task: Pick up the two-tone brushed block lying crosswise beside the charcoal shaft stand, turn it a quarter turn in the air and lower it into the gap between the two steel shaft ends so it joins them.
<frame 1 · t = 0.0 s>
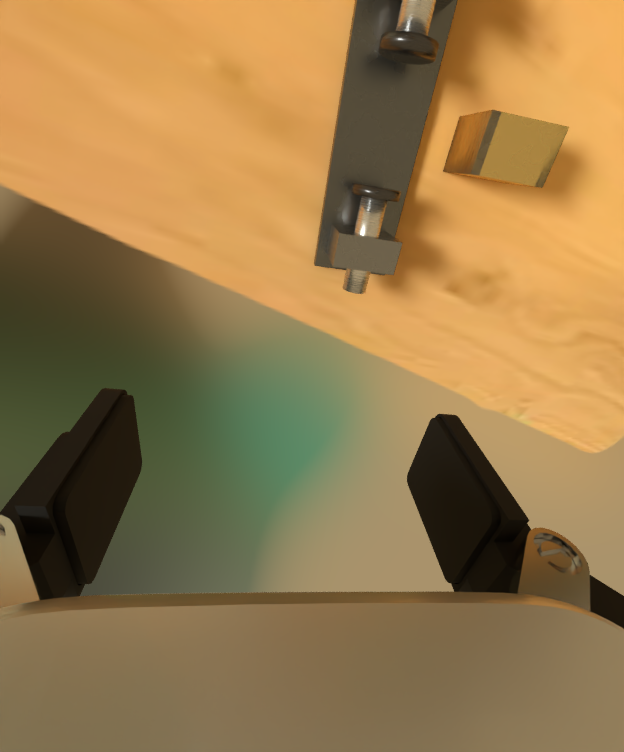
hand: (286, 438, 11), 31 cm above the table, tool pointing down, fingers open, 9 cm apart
shaft stand: (377, 129, 33), on the table
two-tone brushed block: (483, 151, 35), on the table
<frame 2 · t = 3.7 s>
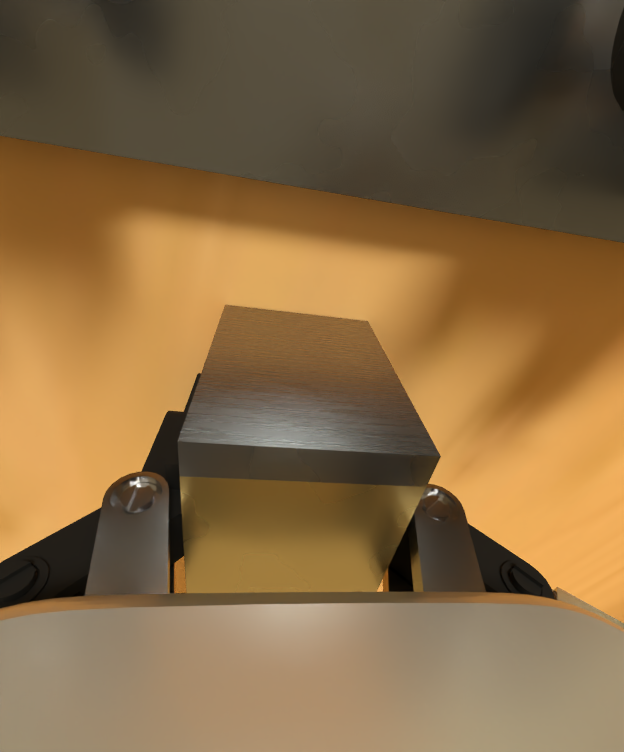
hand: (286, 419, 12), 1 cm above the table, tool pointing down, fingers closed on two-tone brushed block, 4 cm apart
two-tone brushed block: (285, 403, 13), on the table, touching gripper
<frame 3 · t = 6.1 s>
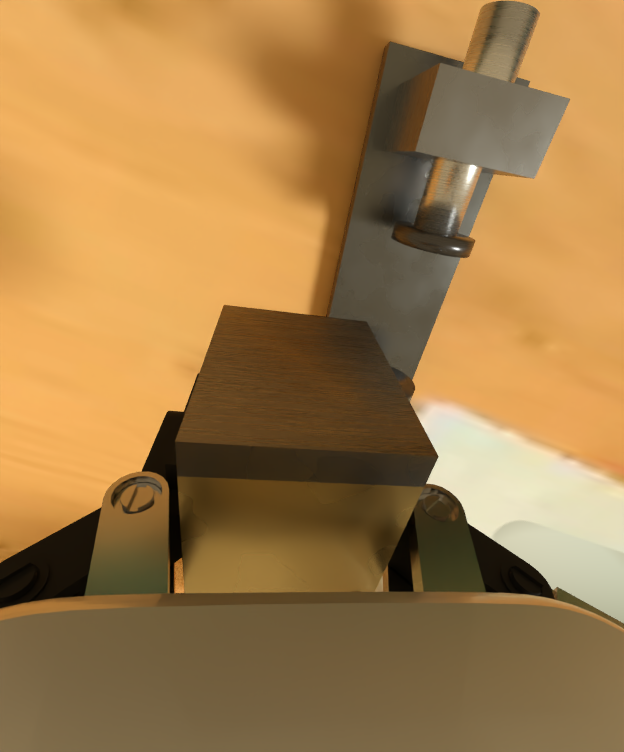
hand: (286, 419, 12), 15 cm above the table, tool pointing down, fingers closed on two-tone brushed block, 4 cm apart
shaft stand: (385, 294, 26), on the table
two-tone brushed block: (284, 403, 13), point 14 cm above the table, touching gripper
when the fingers open (3 cm above the table, at t = 8.7 s): two-tone brushed block drops 1 cm, resting on shaft stand.
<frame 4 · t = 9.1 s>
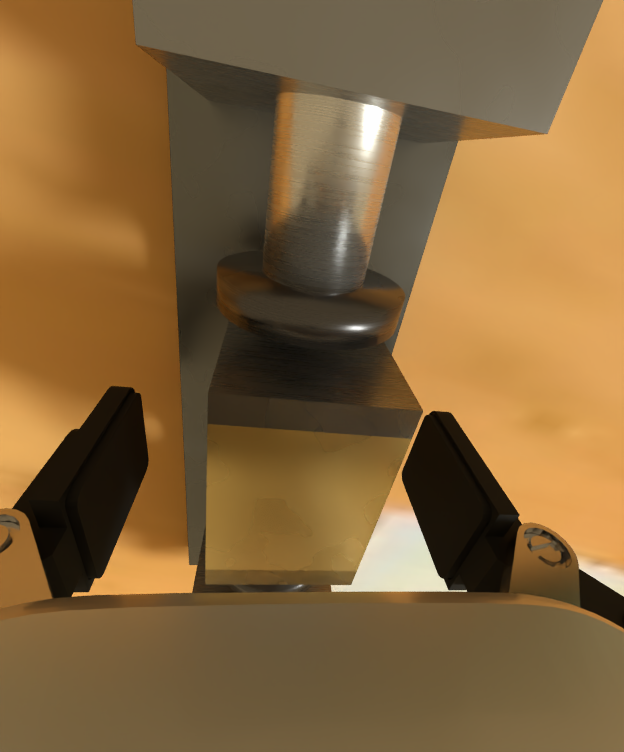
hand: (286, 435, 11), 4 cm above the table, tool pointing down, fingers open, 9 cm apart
shaft stand: (284, 368, 15), on the table
two-tone brushed block: (289, 383, 14), point 1 cm above the table, touching shaft stand
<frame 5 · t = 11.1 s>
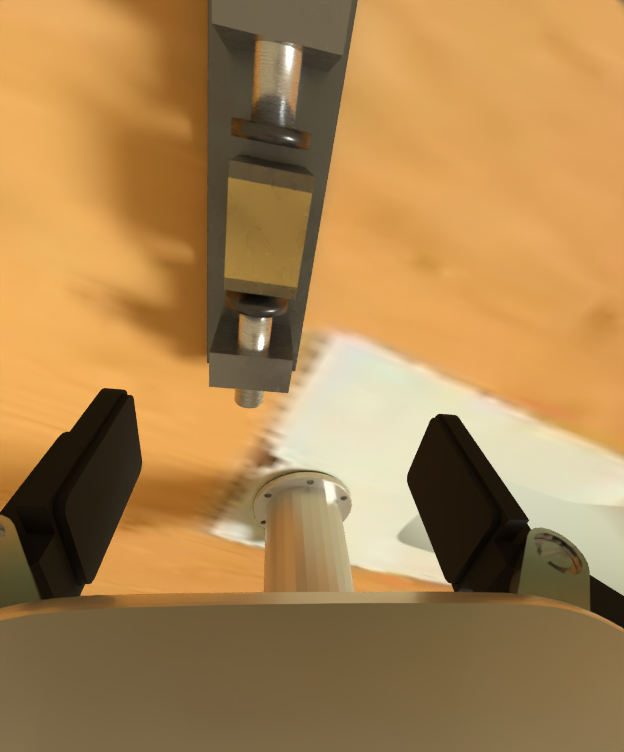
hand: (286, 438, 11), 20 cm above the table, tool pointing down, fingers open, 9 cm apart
shaft stand: (265, 213, 26), on the table
two-tone brushed block: (267, 217, 25), point 1 cm above the table, touching shaft stand
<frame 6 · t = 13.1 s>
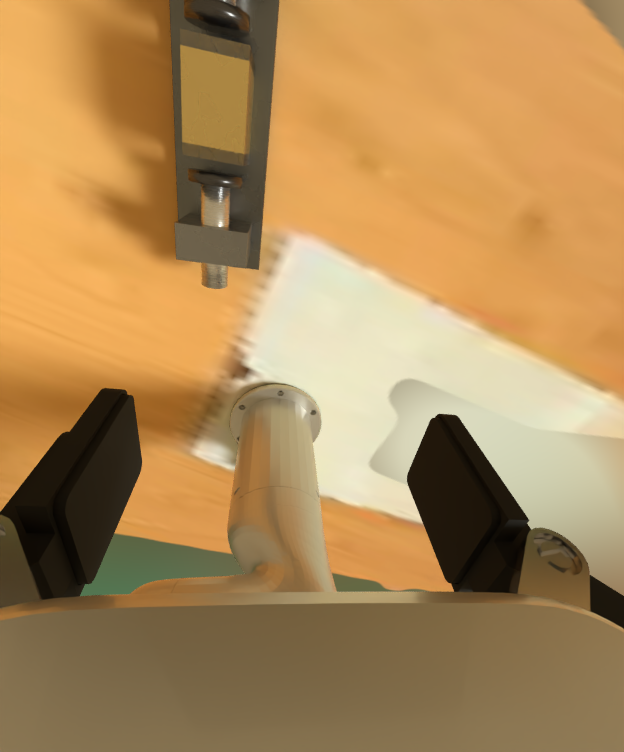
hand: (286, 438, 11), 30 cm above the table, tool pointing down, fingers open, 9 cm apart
shaft stand: (224, 111, 31), on the table
two-tone brushed block: (225, 111, 30), point 1 cm above the table, touching shaft stand
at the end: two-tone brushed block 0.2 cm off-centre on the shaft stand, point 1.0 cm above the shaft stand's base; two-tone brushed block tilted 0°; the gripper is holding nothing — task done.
